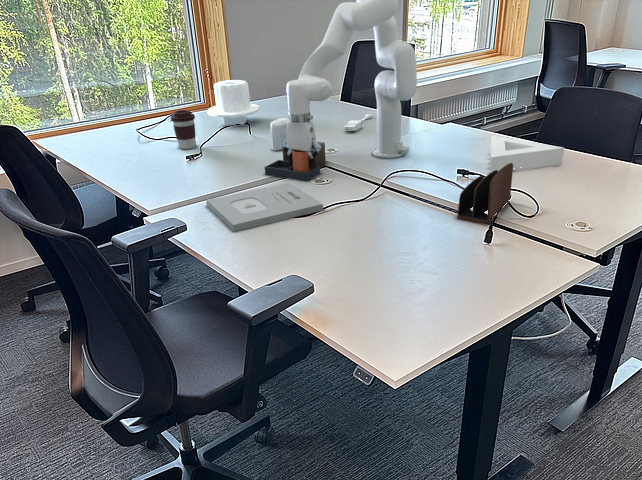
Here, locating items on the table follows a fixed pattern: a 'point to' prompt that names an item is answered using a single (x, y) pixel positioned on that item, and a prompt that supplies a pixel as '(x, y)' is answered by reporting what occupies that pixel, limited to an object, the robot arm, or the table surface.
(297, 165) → the cup
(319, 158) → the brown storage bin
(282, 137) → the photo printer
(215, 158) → the table surface
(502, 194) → the letter holder
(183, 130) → the coffee cup
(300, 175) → the divided tray
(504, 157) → the triangle block
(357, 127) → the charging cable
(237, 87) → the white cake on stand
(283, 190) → the award plaque
